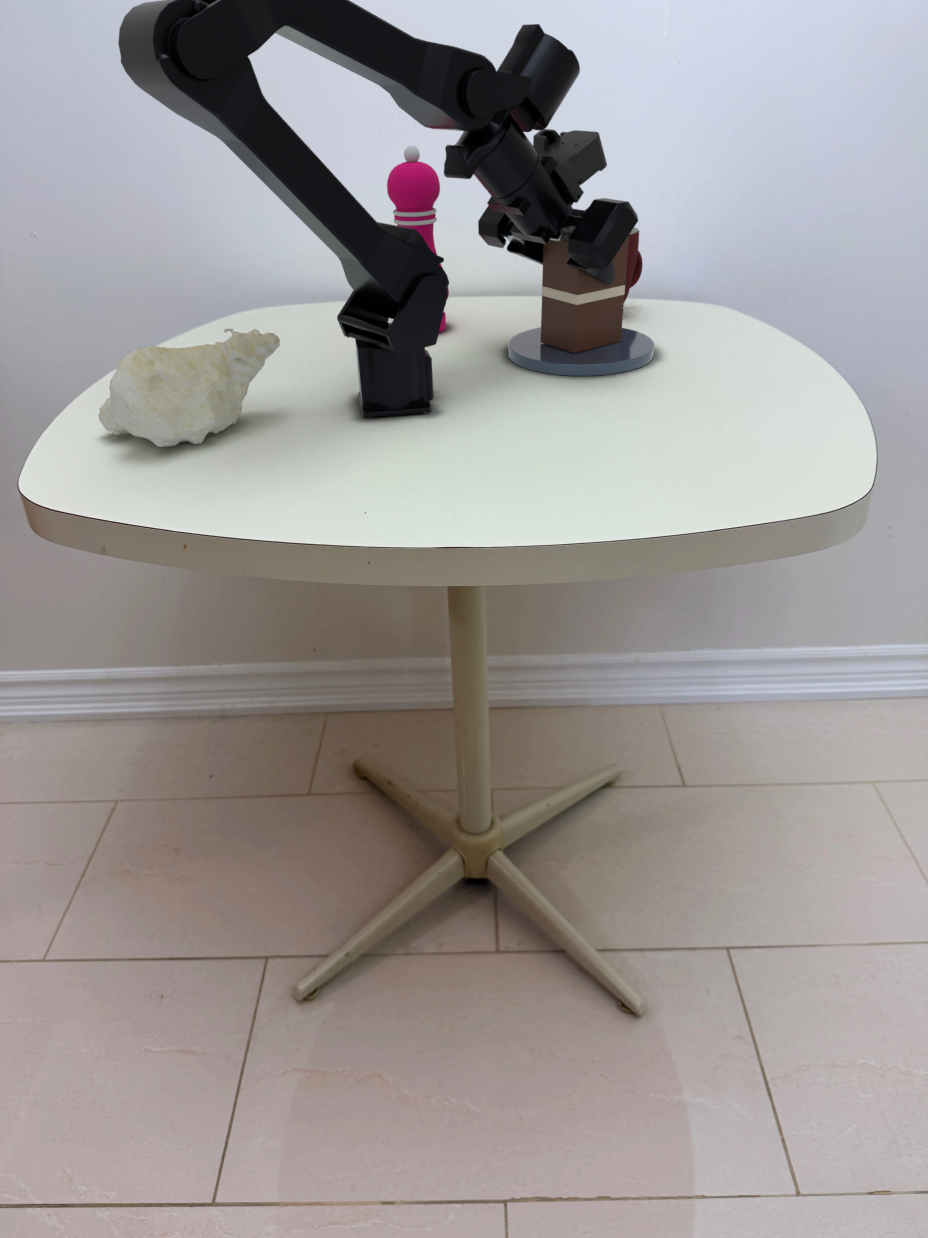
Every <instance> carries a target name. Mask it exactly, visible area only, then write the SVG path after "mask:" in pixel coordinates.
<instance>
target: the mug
mask: <svg viewBox="0 0 928 1238" xmlns="http://www.w3.org/2000/svg"><path fill="white" fill-rule="evenodd" d="M639 243H640V230H639V228H637V227H634V228H633V230H632V231H631V233H630V234H629V243H628V256H627V269H626V281H625V294H624V303H625V302H626V300H627V298H628V297H629V293H630V290H631V288H633V287H634V286H635V285H636V284H637V283H638V282H639V280H640V278H641V275H642V273H643V257H642V254H641V252H640V251H639V247H640V246H639Z"/></svg>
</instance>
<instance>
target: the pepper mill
mask: <svg viewBox="0 0 928 1238" xmlns="http://www.w3.org/2000/svg"><path fill="white" fill-rule="evenodd" d="M403 157H404V160H405V161H404V162H401V163H398V164H396V166H393V168H392V169H391V171H390V172H389V174H388V178H387V181H386V188H387V189H386V193H387V196H388V198H389V200H390V201H391V202H392V203H393V205H394V206H395V209H393V211H392V214H393V216H394V218H393V221H392V222H393V223H394V225H396V226H401V227H406V228H412V229H416V230H417V231H418V232H419V233H420V234H421V235H422V237H423V238H424V240H425V241H426V243H427V245H428V246H429V248H430V249H431V251H433V252H434V253H435V254H436V255H438V253H437V249H436V246H435V237H434V223H436V222H437V221H438V218H437V215H436V213H437V209H436V208H435V207H434V205H435V202H436V201H437V200H438V198H439V196H440V192H441V185H440V184H441V183H440V178H439V176H438V173H437V172H436V170H435V169H434V168H433V167H432V166H431V165H429V164H427V162H426V163H425V162H422V161H419V160H420V157H421V154H420V150H419V148H418V147H416V146H415V145H408V146H407V147H405V148H404V151H403ZM439 265H440V266H441V267H442V268H443V266H442V263H440V264H439ZM449 296H450V289H449V288H448V296H447V300H448V299H449ZM446 314H447V313H446V312H445V311H444V312H443V317H442V321H441V325H440V330H439V333H441V332H443V331H445V330H446V327H447V316H446Z"/></svg>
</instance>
